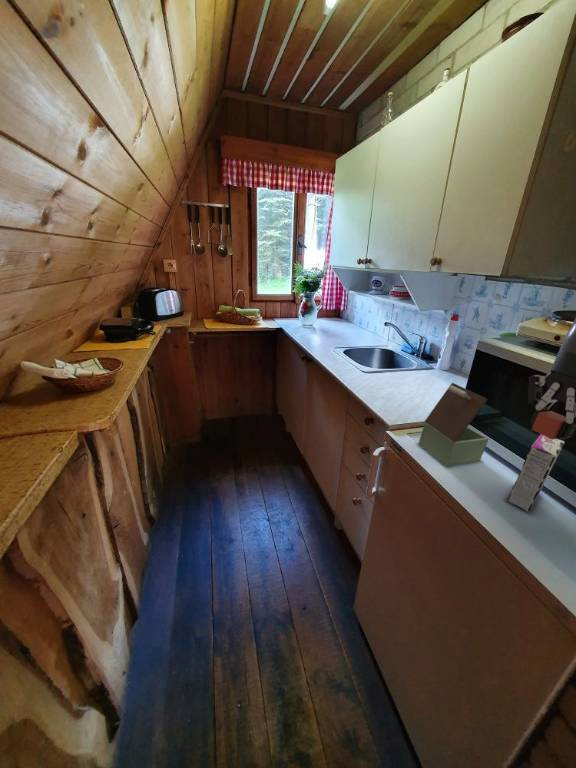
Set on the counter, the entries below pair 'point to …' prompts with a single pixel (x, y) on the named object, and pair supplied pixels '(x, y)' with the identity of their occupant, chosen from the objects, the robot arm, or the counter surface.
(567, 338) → the robot arm
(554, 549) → the counter surface
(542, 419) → the block
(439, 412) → the lid
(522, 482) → the candy bar box
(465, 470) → the counter surface
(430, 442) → the lidded olive box
